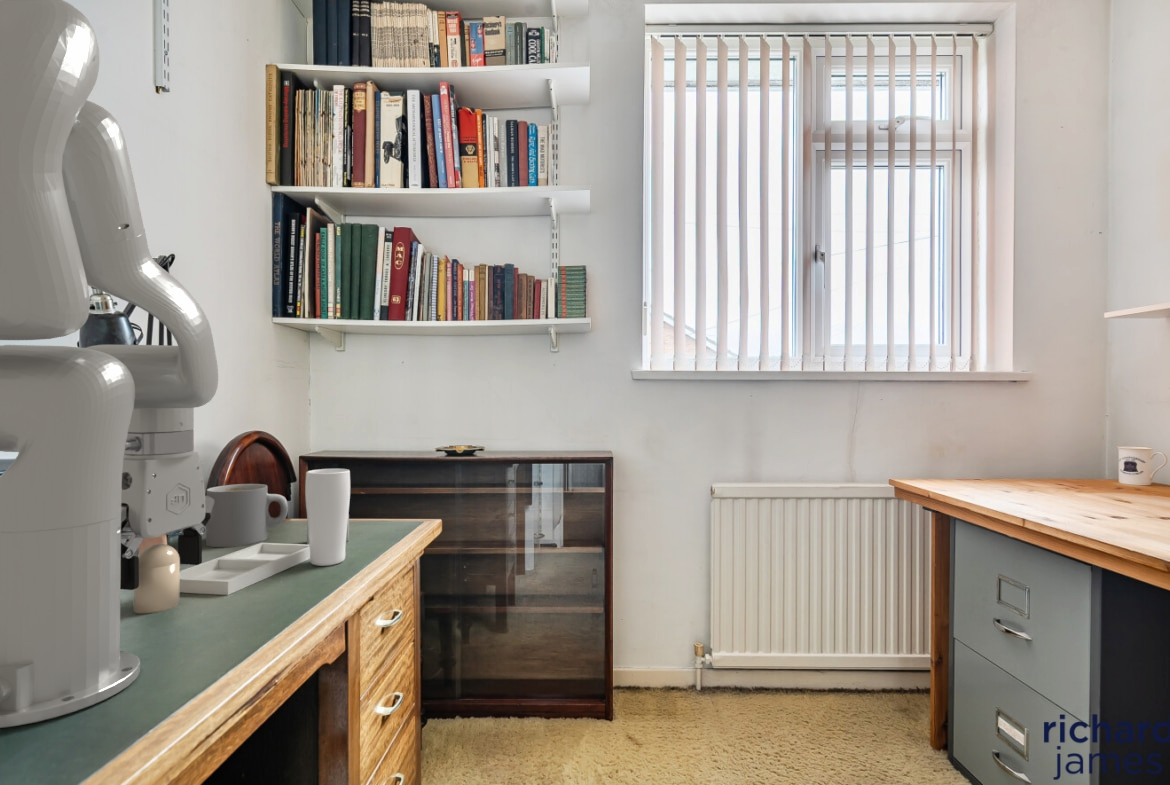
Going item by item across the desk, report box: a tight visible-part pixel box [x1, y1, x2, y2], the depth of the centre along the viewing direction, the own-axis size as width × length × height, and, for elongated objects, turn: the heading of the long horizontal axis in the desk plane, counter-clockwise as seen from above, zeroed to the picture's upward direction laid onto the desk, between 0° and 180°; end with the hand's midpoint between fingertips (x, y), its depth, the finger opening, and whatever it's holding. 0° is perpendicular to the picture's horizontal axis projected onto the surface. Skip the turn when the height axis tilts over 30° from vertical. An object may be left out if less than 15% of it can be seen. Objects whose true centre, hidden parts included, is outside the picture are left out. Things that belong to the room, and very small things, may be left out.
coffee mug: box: [205, 483, 289, 548], centre depth 112 cm, size 13×10×10 cm
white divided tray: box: [180, 542, 310, 596], centre depth 91 cm, size 20×11×2 cm, turn 172°
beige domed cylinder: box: [133, 544, 181, 614], centre depth 76 cm, size 5×5×8 cm
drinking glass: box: [304, 468, 351, 567], centre depth 96 cm, size 7×7×15 cm
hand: (159, 575), depth 77 cm, fingers open, 9 cm apart
